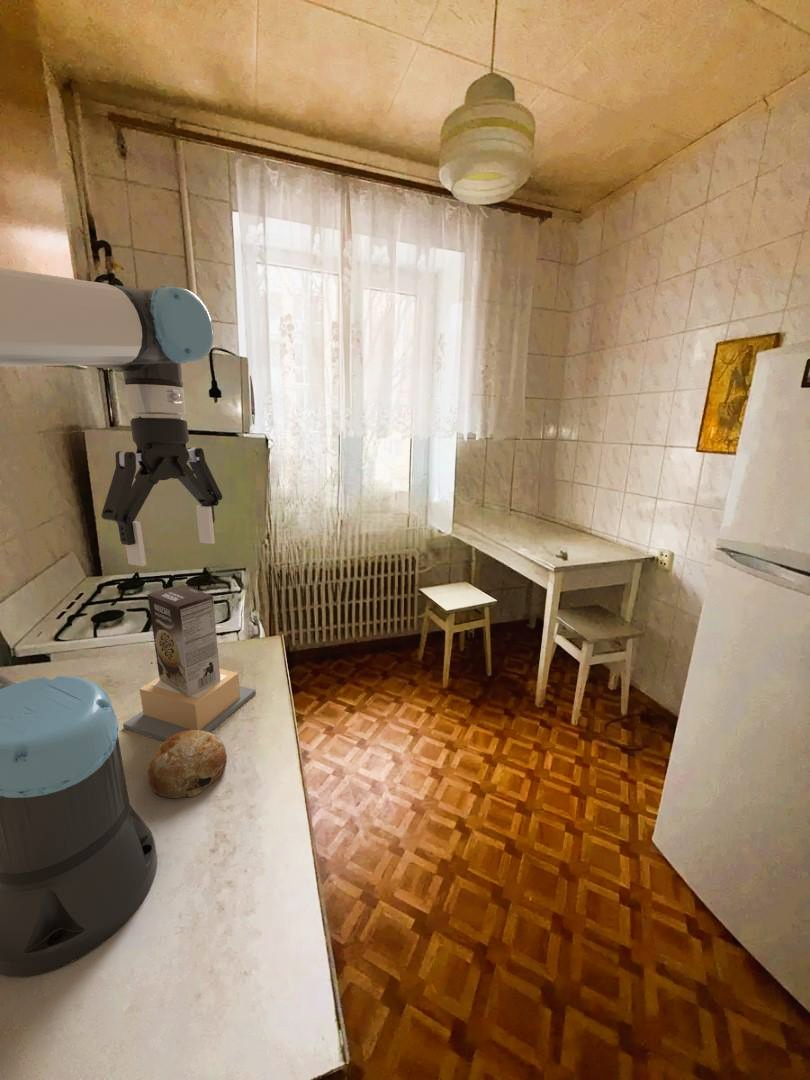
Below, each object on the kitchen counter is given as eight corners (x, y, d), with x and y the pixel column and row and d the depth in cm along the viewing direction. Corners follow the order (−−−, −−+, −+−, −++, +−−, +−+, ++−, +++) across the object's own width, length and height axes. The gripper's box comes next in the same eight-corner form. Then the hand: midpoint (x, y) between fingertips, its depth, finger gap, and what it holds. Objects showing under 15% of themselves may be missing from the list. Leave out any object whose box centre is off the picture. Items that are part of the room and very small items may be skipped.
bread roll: (166, 828, 59) (171, 798, 55) (133, 768, 64) (136, 736, 60) (233, 784, 67) (242, 754, 63) (199, 733, 71) (206, 702, 67)
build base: (188, 749, 69) (184, 716, 67) (123, 727, 73) (118, 696, 72) (255, 693, 83) (253, 665, 82) (197, 678, 88) (194, 651, 86)
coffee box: (157, 680, 76) (145, 593, 72) (192, 664, 82) (182, 582, 78) (187, 698, 72) (176, 606, 67) (222, 680, 77) (214, 593, 73)
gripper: (93, 414, 53) (119, 580, 59) (237, 418, 76) (246, 537, 81) (52, 414, 56) (80, 572, 61) (203, 418, 78) (214, 533, 84)
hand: (175, 552), depth 71 cm, fingers open, 13 cm apart
